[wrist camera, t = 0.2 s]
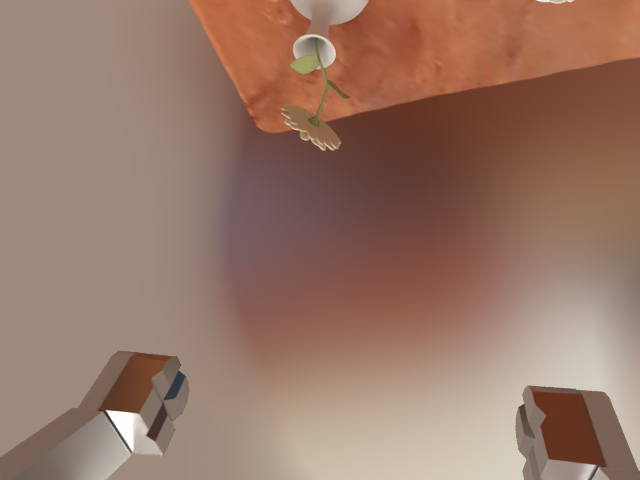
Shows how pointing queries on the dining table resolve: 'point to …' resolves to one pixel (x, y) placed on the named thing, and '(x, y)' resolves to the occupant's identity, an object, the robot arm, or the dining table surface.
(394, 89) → the dining table surface
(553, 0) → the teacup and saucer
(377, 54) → the dining table surface
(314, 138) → the flower in vase
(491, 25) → the dining table surface
